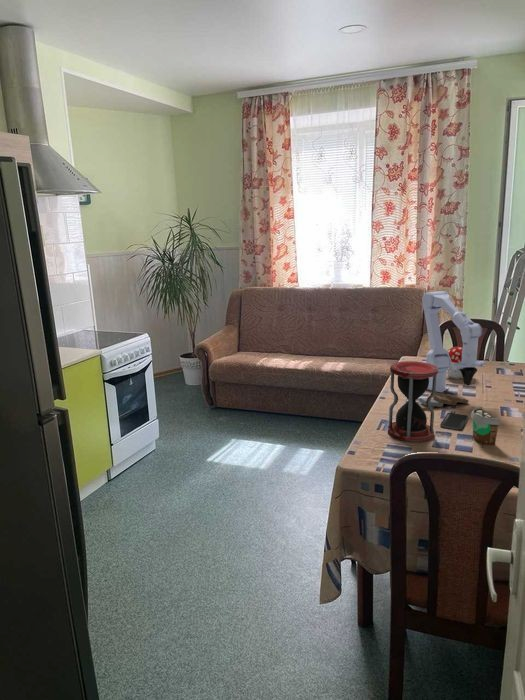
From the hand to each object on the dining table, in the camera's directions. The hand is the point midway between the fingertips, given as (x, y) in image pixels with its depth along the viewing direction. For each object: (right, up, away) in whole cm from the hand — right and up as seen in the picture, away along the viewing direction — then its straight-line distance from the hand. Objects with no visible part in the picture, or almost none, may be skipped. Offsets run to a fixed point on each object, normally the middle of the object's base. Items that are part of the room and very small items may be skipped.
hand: (466, 384), depth 214 cm
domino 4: (-1, -7, +1) cm, 7 cm away
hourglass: (-32, -16, -28) cm, 45 cm away
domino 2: (-12, -8, -2) cm, 14 cm away
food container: (-10, -17, -35) cm, 40 cm away
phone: (-12, -14, -19) cm, 27 cm away
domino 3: (-6, -7, 0) cm, 9 cm away
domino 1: (-16, -9, -3) cm, 19 cm away
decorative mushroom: (+9, +1, +36) cm, 37 cm away
